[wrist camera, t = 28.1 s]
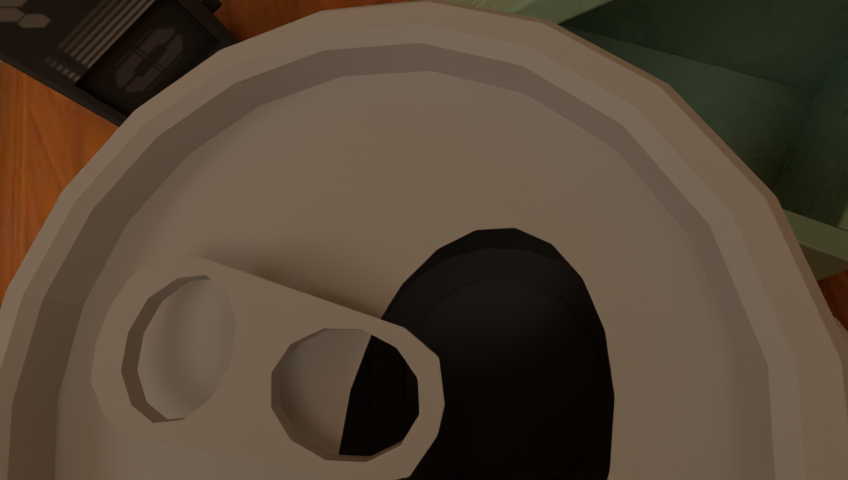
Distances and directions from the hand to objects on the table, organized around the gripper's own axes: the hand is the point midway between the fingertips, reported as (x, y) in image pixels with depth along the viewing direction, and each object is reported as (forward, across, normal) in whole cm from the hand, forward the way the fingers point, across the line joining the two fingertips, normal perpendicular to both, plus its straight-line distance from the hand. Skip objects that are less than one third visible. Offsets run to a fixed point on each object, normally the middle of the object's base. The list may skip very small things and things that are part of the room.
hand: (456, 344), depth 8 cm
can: (+4, 0, +5) cm, 7 cm away
